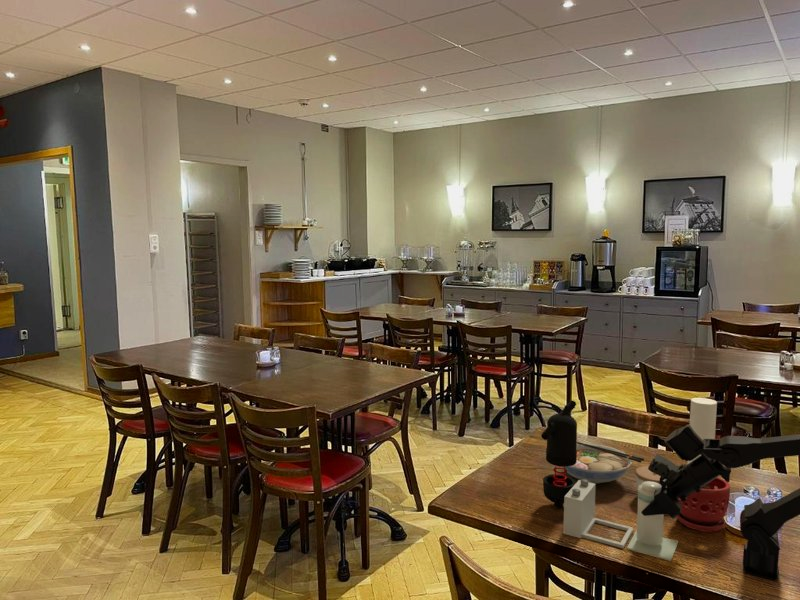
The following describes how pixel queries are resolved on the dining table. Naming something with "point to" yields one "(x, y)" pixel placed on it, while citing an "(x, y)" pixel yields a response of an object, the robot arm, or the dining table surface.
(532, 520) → the dining table surface
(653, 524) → the cartridge
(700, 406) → the cylindrical container
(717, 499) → the plant pot
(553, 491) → the black spring figurine
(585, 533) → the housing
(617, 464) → the ramen bowl
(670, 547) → the mat
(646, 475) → the lidded jar
